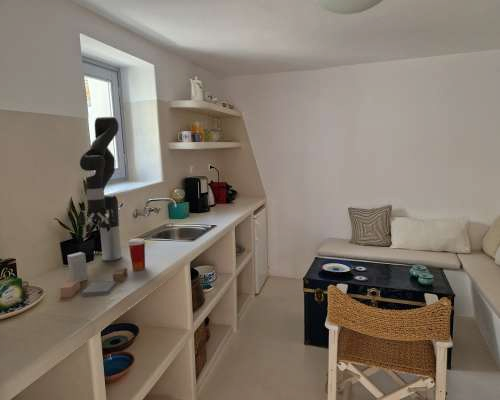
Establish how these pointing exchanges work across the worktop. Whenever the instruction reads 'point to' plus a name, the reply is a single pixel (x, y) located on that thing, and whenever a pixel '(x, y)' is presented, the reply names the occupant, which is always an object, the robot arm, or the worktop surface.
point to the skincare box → (77, 266)
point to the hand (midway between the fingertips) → (98, 232)
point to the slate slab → (99, 288)
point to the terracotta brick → (70, 288)
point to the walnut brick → (120, 274)
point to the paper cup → (137, 253)
